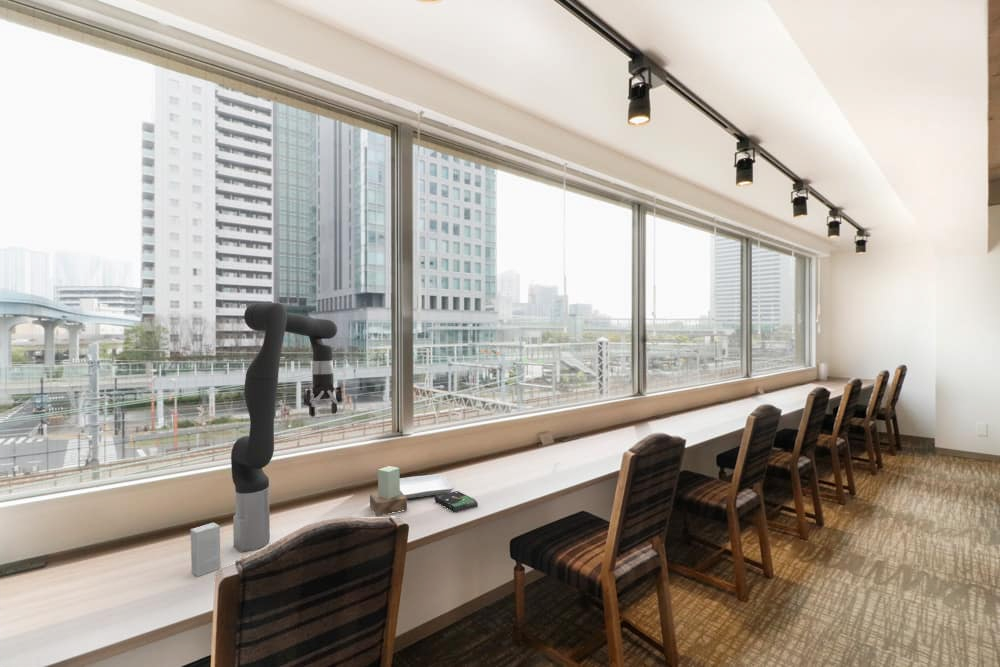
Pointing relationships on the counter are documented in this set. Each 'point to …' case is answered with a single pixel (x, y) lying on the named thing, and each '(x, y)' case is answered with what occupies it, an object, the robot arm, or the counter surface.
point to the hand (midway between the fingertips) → (323, 414)
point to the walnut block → (387, 504)
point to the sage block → (388, 482)
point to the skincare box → (205, 549)
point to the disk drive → (456, 501)
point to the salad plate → (424, 486)
